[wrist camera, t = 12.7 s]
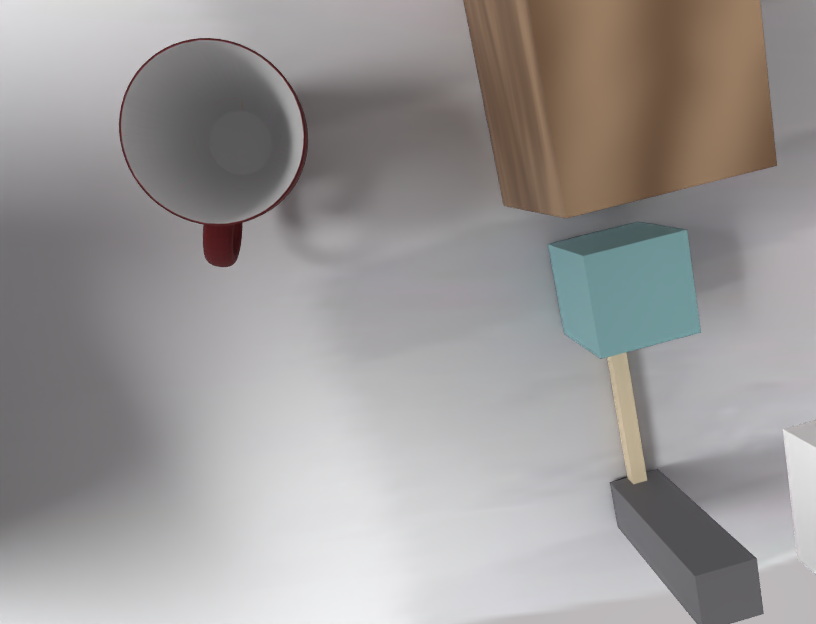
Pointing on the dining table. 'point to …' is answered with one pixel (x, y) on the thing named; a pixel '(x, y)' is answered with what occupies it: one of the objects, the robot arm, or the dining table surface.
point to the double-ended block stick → (612, 338)
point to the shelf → (620, 97)
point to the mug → (213, 137)
